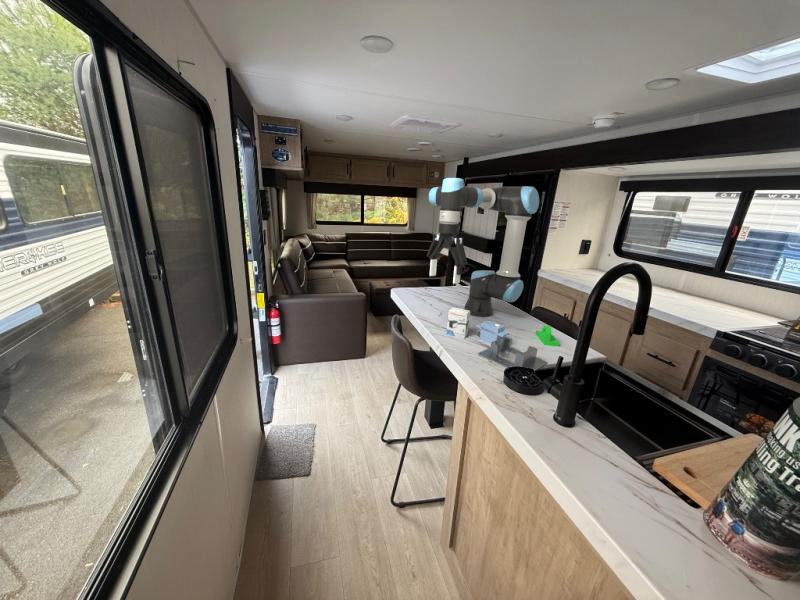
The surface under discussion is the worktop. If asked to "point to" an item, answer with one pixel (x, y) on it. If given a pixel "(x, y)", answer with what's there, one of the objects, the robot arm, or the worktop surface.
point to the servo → (491, 331)
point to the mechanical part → (547, 336)
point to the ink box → (458, 322)
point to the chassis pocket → (512, 355)
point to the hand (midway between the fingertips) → (443, 279)
